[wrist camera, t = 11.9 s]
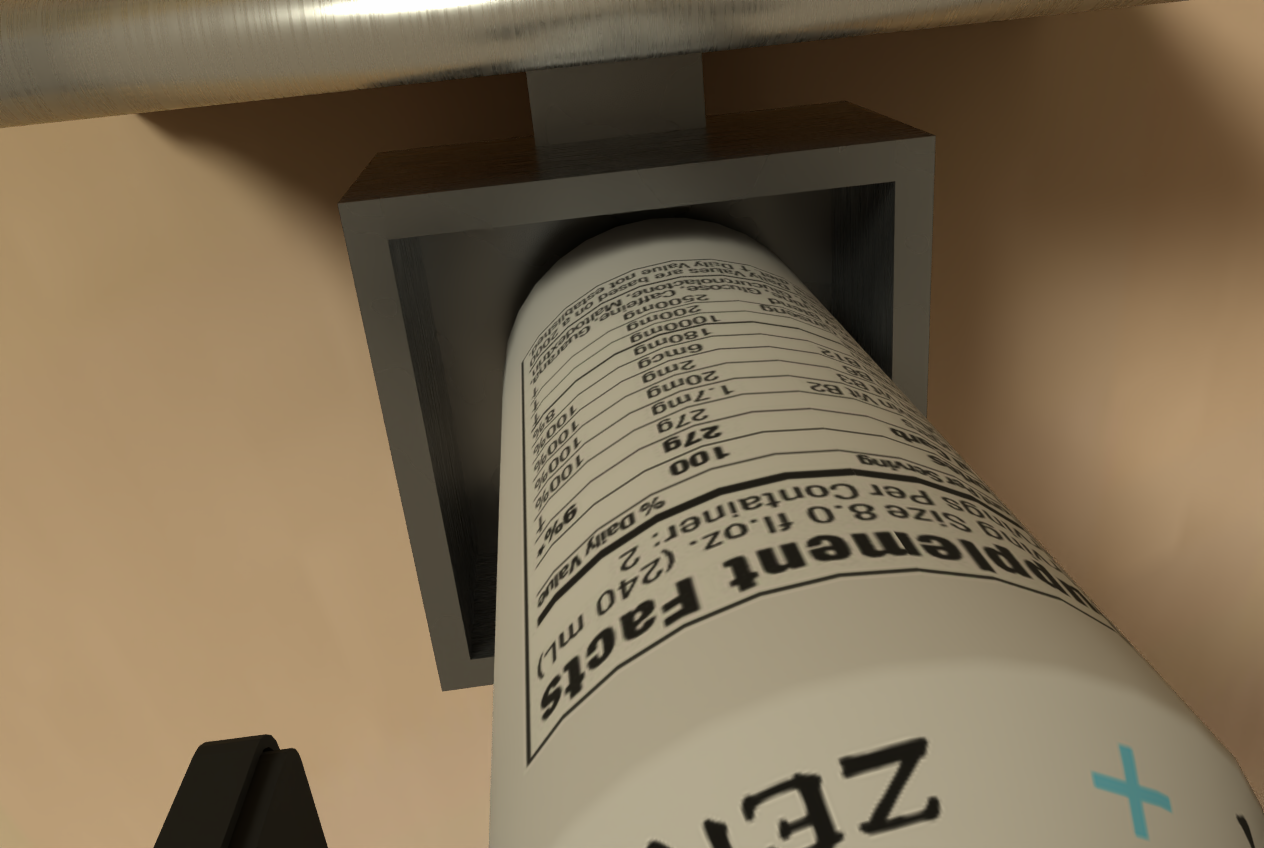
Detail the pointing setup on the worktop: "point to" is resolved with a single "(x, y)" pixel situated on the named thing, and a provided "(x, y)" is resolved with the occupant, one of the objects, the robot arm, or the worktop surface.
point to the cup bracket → (531, 191)
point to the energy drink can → (791, 596)
